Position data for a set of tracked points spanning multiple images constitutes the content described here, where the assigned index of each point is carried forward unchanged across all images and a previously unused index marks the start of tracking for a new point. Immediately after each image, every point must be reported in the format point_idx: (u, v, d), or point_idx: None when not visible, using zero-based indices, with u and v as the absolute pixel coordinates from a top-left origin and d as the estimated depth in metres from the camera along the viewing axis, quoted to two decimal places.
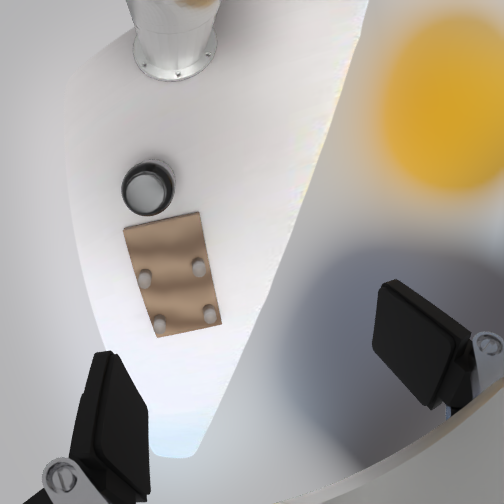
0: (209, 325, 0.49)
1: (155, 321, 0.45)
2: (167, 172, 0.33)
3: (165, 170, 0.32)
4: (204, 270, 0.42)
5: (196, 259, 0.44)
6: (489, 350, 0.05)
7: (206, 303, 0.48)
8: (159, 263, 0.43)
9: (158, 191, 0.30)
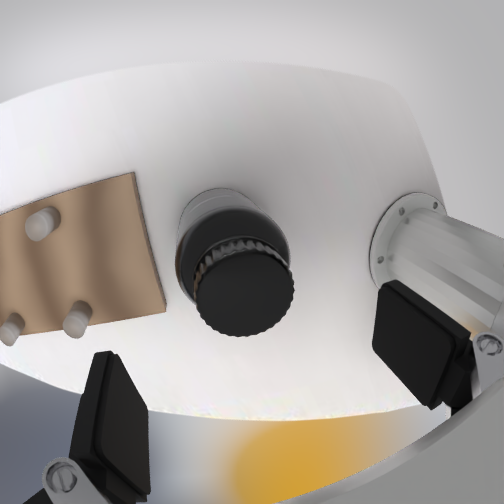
0: None
1: None
2: None
3: None
4: (75, 336, 0.20)
5: (89, 311, 0.22)
6: (489, 350, 0.05)
7: (24, 319, 0.21)
8: (72, 245, 0.20)
9: (250, 325, 0.14)
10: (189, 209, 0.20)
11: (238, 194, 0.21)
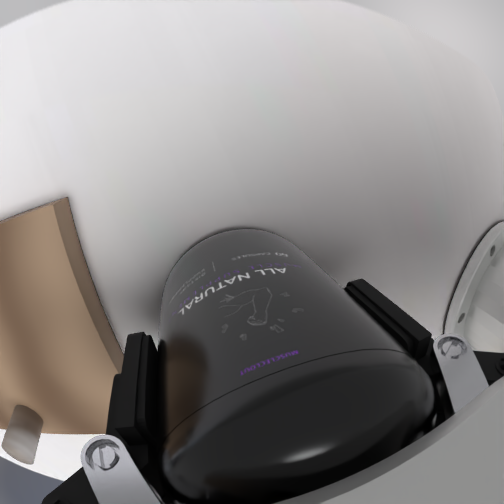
0: None
1: None
2: None
3: None
4: (24, 461, 0.08)
5: (36, 424, 0.10)
6: (453, 353, 0.06)
7: None
8: None
9: None
10: (180, 294, 0.08)
11: (291, 251, 0.09)
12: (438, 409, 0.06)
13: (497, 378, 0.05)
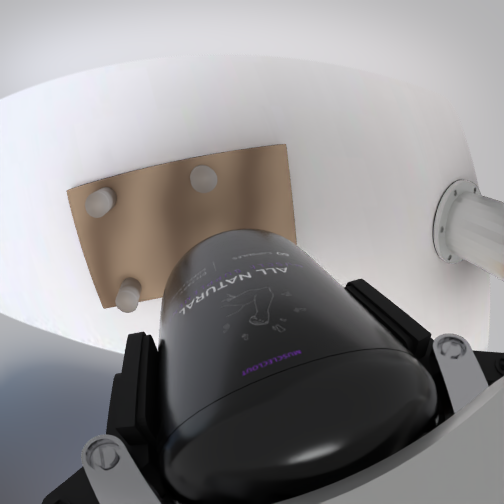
0: (98, 288, 0.25)
1: (108, 193, 0.21)
2: None
3: None
4: None
5: None
6: (452, 353, 0.06)
7: (142, 283, 0.26)
8: (222, 203, 0.25)
9: None
10: (180, 294, 0.08)
11: (292, 251, 0.09)
12: None
13: (497, 378, 0.05)
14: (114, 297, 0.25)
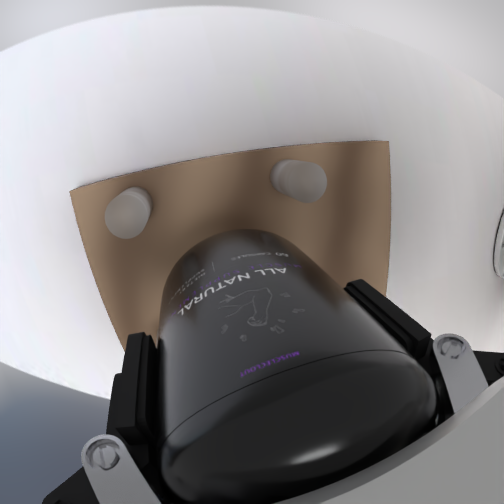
0: (122, 336, 0.17)
1: (143, 197, 0.13)
2: None
3: None
4: None
5: None
6: (452, 353, 0.06)
7: None
8: (311, 216, 0.17)
9: None
10: (179, 294, 0.08)
11: (291, 251, 0.09)
12: None
13: (497, 378, 0.05)
14: None
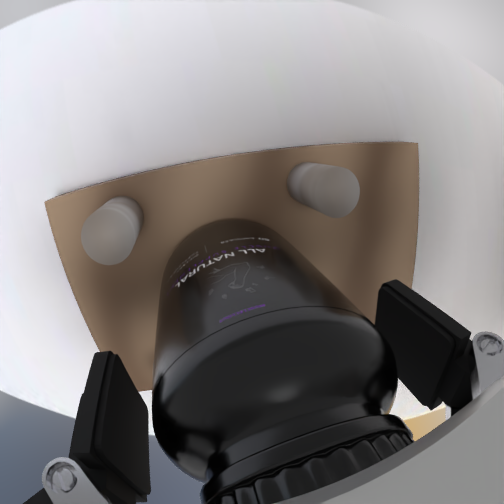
0: None
1: (130, 211, 0.10)
2: None
3: None
4: None
5: None
6: (489, 350, 0.05)
7: None
8: (333, 230, 0.14)
9: None
10: (176, 272, 0.10)
11: (273, 237, 0.11)
12: None
13: None
14: (140, 379, 0.15)
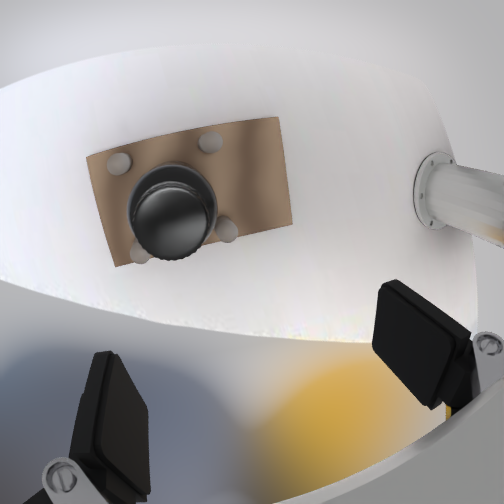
0: (112, 247, 0.28)
1: (127, 156, 0.23)
2: None
3: (204, 241, 0.21)
4: (228, 240, 0.28)
5: None
6: (489, 350, 0.05)
7: None
8: (225, 166, 0.28)
9: (176, 249, 0.17)
10: None
11: (183, 162, 0.24)
12: None
13: None
14: (126, 255, 0.28)
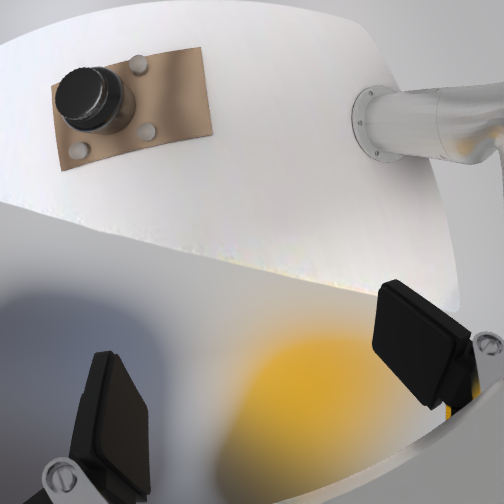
0: (60, 154, 0.29)
1: None
2: (107, 120, 0.22)
3: (110, 118, 0.22)
4: (145, 137, 0.28)
5: (155, 130, 0.30)
6: (489, 350, 0.05)
7: (92, 147, 0.30)
8: (153, 85, 0.29)
9: (79, 109, 0.18)
10: None
11: None
12: None
13: None
14: (70, 160, 0.29)
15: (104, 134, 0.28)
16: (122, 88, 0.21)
